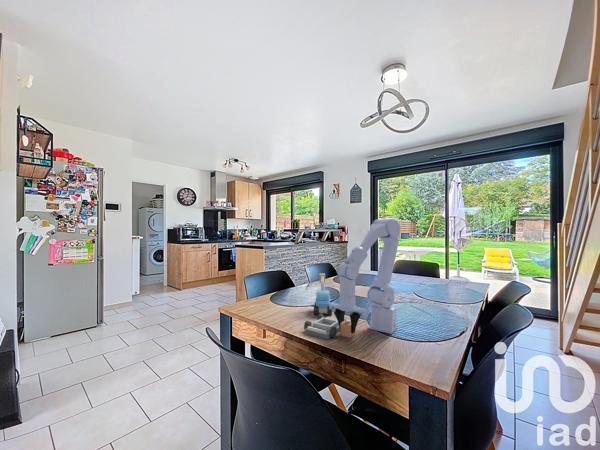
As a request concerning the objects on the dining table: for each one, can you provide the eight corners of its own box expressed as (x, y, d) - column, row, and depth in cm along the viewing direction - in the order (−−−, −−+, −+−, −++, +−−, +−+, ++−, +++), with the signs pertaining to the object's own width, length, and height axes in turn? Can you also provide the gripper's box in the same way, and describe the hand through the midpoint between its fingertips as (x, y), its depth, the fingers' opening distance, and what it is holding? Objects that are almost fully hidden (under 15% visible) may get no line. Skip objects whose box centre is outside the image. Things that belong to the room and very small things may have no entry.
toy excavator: (331, 306, 134) (331, 273, 134) (332, 316, 118) (332, 279, 118) (314, 305, 135) (315, 272, 135) (313, 316, 118) (313, 278, 119)
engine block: (354, 334, 98) (354, 320, 98) (350, 337, 94) (350, 323, 95) (344, 331, 100) (344, 318, 100) (340, 335, 97) (340, 321, 97)
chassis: (349, 326, 105) (349, 317, 106) (330, 340, 92) (330, 330, 92) (322, 320, 113) (322, 312, 113) (302, 332, 99) (302, 322, 99)
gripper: (325, 294, 98) (325, 330, 98) (361, 300, 90) (362, 339, 90) (334, 290, 104) (334, 324, 104) (369, 295, 96) (369, 332, 96)
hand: (347, 331), depth 97 cm, fingers closed on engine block, 4 cm apart
